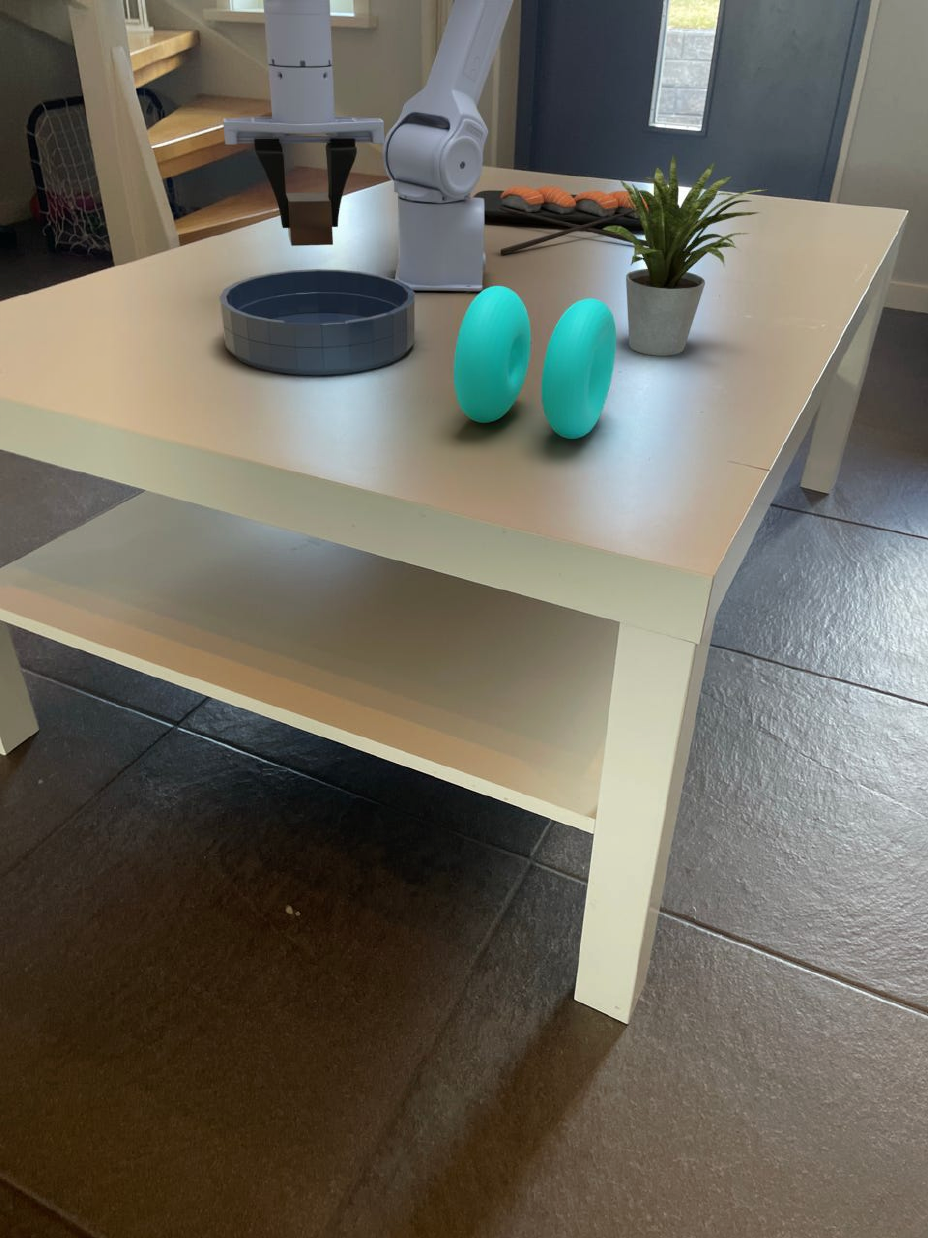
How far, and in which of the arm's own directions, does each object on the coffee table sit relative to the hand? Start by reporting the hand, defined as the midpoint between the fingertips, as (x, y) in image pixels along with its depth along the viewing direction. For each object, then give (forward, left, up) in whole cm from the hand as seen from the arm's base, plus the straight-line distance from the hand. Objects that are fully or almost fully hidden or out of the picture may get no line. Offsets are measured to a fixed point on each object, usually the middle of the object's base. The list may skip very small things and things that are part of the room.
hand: (310, 225), depth 95 cm
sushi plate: (-30, -36, -8) cm, 48 cm away
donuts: (-20, +30, -8) cm, 37 cm away
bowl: (-2, +11, -8) cm, 14 cm away
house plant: (-33, +12, -8) cm, 36 cm away
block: (0, 0, -1) cm, 1 cm away
